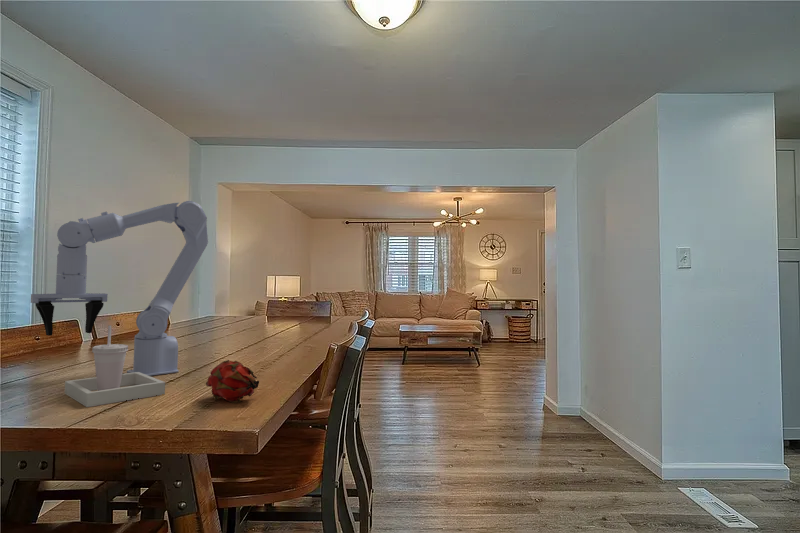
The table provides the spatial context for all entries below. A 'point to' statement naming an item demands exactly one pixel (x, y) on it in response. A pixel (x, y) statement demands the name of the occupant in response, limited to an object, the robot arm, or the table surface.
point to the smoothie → (109, 363)
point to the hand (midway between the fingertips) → (69, 333)
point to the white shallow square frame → (142, 389)
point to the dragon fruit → (232, 381)
